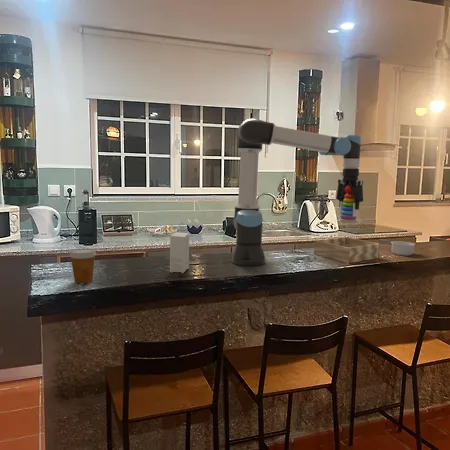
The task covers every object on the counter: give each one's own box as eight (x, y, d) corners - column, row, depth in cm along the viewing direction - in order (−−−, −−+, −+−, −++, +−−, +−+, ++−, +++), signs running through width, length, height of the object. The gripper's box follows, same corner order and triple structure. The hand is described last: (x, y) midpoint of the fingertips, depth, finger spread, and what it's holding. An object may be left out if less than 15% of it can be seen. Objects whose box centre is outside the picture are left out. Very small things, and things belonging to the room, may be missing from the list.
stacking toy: (358, 223, 209) (360, 184, 206) (342, 223, 209) (343, 184, 206) (354, 221, 217) (356, 183, 214) (338, 221, 217) (339, 183, 214)
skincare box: (175, 267, 188) (175, 232, 185) (190, 268, 187) (190, 232, 184) (169, 272, 180) (169, 235, 177) (184, 273, 178) (184, 236, 176)
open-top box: (347, 263, 200) (348, 248, 199) (313, 254, 219) (314, 240, 218) (379, 257, 212) (380, 243, 211) (344, 249, 231) (345, 236, 230)
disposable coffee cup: (100, 278, 169) (99, 248, 167) (91, 285, 160) (90, 253, 158) (76, 278, 170) (75, 247, 168) (66, 284, 160) (64, 252, 158)
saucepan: (387, 248, 238) (387, 237, 237) (419, 255, 221) (420, 244, 220) (372, 249, 232) (373, 239, 231) (404, 257, 215) (405, 246, 214)
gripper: (373, 168, 203) (370, 217, 206) (340, 167, 220) (338, 212, 223) (362, 168, 199) (359, 218, 202) (329, 167, 216) (327, 213, 219)
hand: (348, 215), depth 213 cm, fingers closed on stacking toy, 7 cm apart
